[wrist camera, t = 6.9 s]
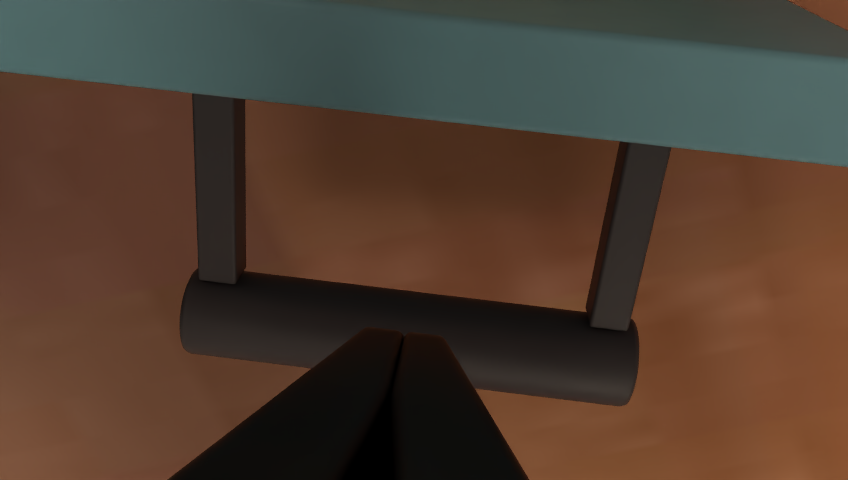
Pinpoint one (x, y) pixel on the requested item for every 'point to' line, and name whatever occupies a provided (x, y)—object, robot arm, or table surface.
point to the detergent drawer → (467, 104)
